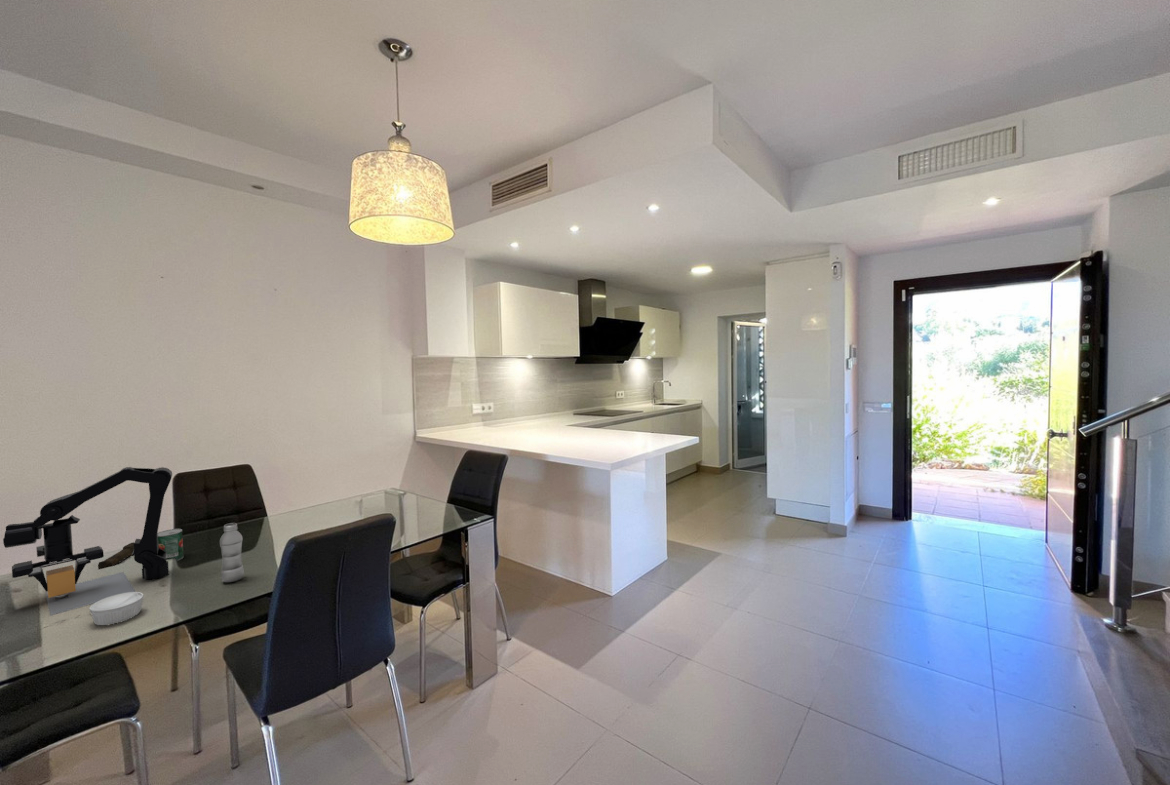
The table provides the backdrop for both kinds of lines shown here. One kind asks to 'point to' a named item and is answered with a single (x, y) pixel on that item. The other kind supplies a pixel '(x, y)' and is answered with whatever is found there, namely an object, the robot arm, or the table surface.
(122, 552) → the hand tool
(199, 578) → the table surface
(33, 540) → the robot arm
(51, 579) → the orange cardboard-tone cube
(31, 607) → the table surface
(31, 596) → the table surface
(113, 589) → the flat grey board
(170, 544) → the canned tomato
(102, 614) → the ramekin
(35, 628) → the table surface
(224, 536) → the plastic bottle
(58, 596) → the copper silver stepped knob
